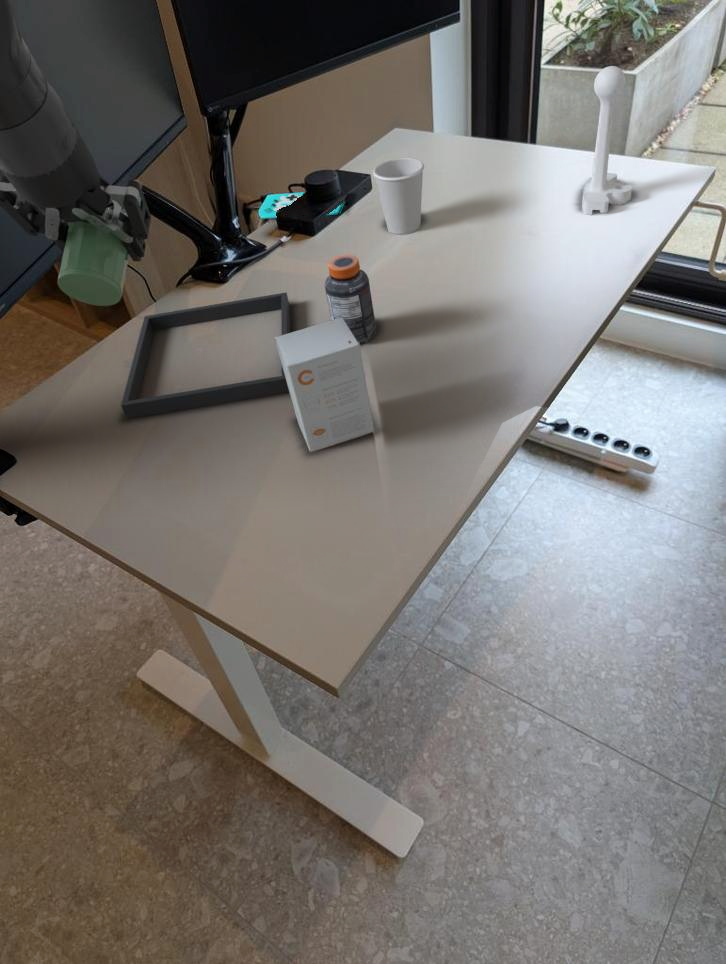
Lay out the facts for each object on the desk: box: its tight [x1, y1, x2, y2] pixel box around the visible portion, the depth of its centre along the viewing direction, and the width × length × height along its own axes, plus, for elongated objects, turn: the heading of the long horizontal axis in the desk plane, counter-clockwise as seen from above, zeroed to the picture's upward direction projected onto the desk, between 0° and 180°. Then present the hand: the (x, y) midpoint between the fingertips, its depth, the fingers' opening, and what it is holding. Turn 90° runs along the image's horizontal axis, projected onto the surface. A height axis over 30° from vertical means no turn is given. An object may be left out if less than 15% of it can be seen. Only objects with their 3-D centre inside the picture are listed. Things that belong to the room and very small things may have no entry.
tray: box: [120, 292, 291, 420], centre depth 95 cm, size 22×22×3 cm
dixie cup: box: [372, 157, 425, 235], centre depth 114 cm, size 8×8×10 cm
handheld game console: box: [258, 191, 346, 219], centre depth 128 cm, size 10×16×1 cm, turn 81°
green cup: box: [57, 210, 130, 307], centre depth 72 cm, size 6×6×9 cm
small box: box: [274, 317, 376, 453], centre depth 77 cm, size 8×6×13 cm
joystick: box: [581, 65, 633, 216], centre depth 107 cm, size 11×8×20 cm
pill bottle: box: [324, 254, 377, 346], centre depth 92 cm, size 6×6×11 cm
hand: (107, 253), depth 74 cm, fingers closed on green cup, 6 cm apart
